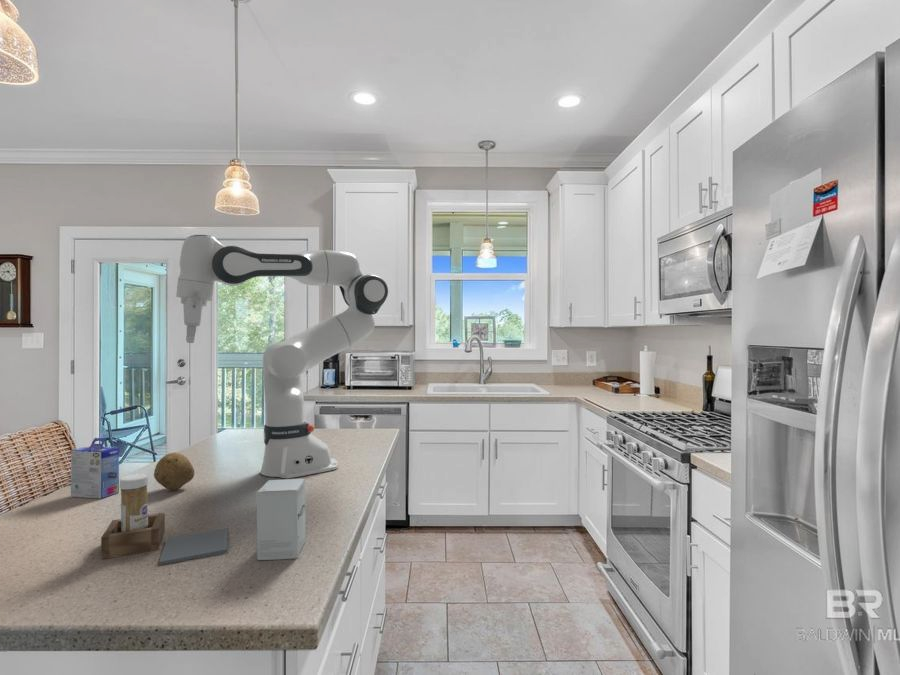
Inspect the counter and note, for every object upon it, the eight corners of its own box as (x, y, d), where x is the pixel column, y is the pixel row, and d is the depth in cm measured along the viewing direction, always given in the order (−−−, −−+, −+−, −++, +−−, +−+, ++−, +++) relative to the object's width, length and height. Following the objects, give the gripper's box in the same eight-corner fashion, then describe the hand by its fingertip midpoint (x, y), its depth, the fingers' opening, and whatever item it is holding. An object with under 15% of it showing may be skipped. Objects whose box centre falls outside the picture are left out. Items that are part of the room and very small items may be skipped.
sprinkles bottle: (143, 548, 91) (142, 478, 90) (116, 551, 90) (115, 480, 89) (152, 538, 95) (151, 472, 95) (127, 541, 94) (126, 474, 94)
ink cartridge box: (121, 492, 124) (120, 437, 124) (101, 499, 119) (100, 442, 118) (90, 490, 126) (89, 436, 126) (69, 497, 121) (68, 441, 120)
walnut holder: (164, 531, 98) (164, 512, 98) (158, 549, 90) (158, 528, 90) (112, 540, 94) (112, 520, 94) (101, 559, 86) (101, 537, 86)
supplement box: (298, 559, 85) (296, 489, 85) (256, 561, 85) (254, 491, 85) (307, 541, 93) (306, 477, 93) (268, 543, 92) (267, 479, 92)
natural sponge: (146, 492, 123) (145, 454, 123) (179, 482, 131) (178, 447, 131) (166, 497, 119) (166, 458, 119) (199, 487, 127) (199, 450, 127)
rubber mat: (227, 530, 98) (227, 527, 98) (227, 552, 88) (227, 549, 88) (167, 541, 94) (167, 538, 94) (159, 565, 84) (159, 561, 84)
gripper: (209, 292, 123) (204, 344, 123) (206, 295, 141) (201, 341, 141) (181, 288, 120) (176, 342, 120) (182, 293, 138) (177, 339, 138)
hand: (189, 342), depth 130 cm, fingers open, 8 cm apart
